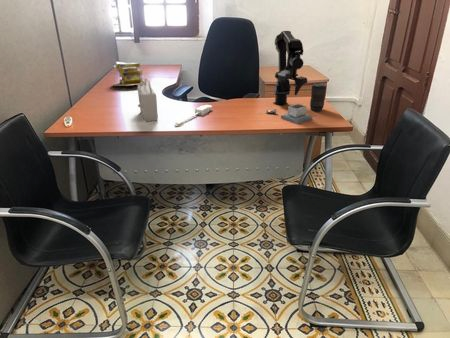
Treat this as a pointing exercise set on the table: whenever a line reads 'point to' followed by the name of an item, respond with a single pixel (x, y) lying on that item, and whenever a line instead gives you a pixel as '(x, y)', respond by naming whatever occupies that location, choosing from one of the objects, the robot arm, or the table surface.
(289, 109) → the box
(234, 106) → the table surface
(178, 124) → the white brush
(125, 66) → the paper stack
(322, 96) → the camera lens
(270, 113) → the loose bolt
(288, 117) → the stand
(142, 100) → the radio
